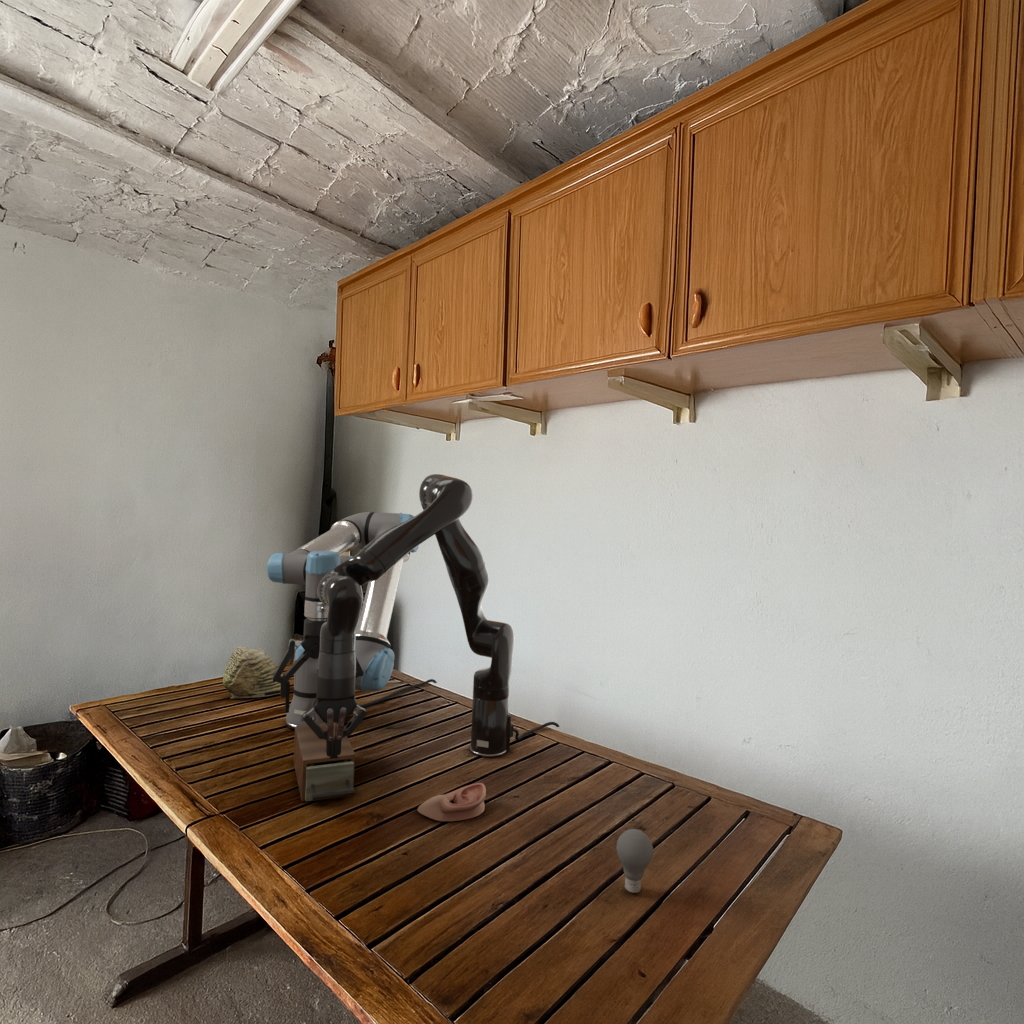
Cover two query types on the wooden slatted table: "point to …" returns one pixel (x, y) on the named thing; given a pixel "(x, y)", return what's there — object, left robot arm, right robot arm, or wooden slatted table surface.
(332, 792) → the drawer
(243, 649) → the fossil
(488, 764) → the wooden slatted table surface
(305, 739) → the cabinet
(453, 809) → the anatomical model
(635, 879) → the light bulb
